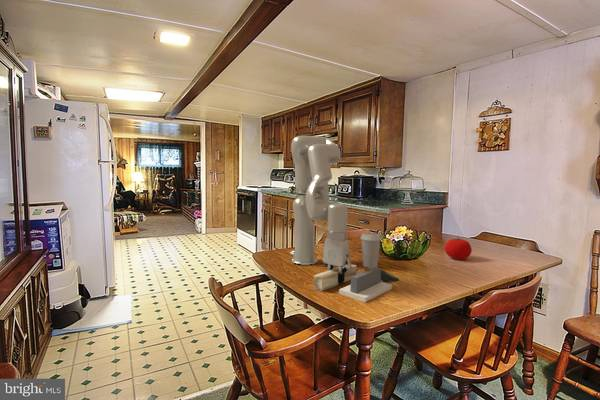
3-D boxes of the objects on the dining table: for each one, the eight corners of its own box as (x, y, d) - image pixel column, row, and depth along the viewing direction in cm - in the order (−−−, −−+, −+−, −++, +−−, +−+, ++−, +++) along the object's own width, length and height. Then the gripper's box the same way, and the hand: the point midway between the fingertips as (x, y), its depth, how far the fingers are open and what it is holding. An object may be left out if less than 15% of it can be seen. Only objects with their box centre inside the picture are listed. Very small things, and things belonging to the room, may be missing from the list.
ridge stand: (339, 293, 114) (339, 274, 114) (366, 281, 127) (367, 264, 126) (365, 302, 107) (365, 282, 106) (391, 288, 119) (392, 270, 119)
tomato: (475, 260, 158) (477, 239, 158) (457, 262, 154) (458, 241, 153) (457, 254, 169) (458, 235, 168) (439, 257, 164) (440, 237, 163)
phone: (379, 268, 142) (399, 279, 128) (379, 270, 142) (399, 281, 128) (363, 270, 140) (382, 281, 125) (363, 272, 140) (382, 283, 125)
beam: (313, 288, 119) (313, 275, 118) (348, 275, 134) (348, 263, 134) (321, 291, 116) (322, 278, 116) (356, 277, 132) (356, 265, 131)
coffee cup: (381, 269, 142) (382, 236, 141) (359, 268, 144) (360, 235, 143) (380, 263, 152) (381, 232, 150) (359, 262, 153) (360, 231, 152)
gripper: (314, 233, 127) (314, 278, 128) (349, 240, 115) (347, 289, 117) (326, 231, 132) (326, 274, 134) (360, 237, 120) (359, 284, 122)
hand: (336, 280), depth 125 cm, fingers closed on beam, 4 cm apart
